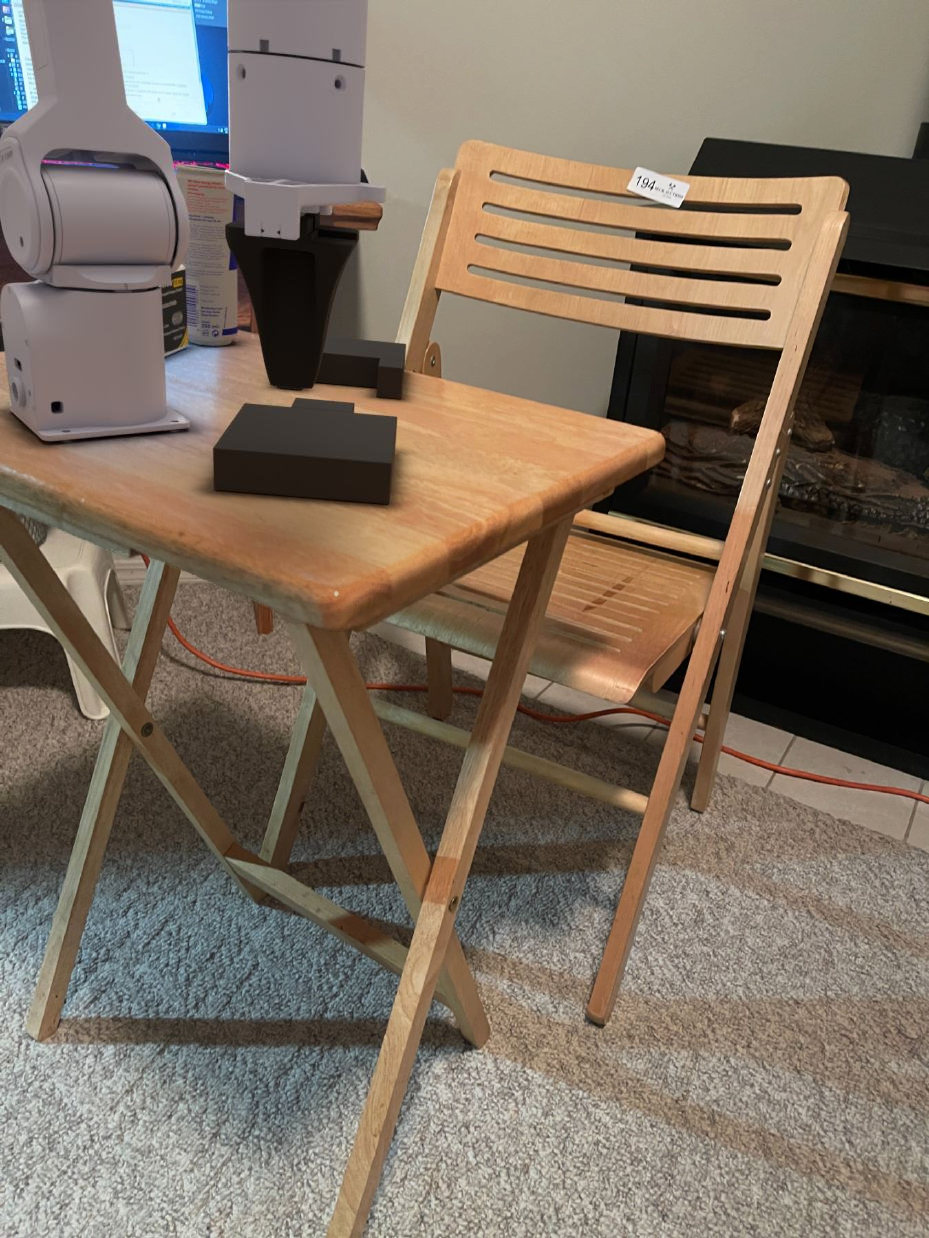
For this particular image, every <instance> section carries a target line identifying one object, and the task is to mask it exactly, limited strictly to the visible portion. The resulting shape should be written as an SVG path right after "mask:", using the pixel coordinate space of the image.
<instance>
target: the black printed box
mask: <svg viewBox="0 0 929 1238" xmlns="http://www.w3.org/2000/svg"><path fill="white" fill-rule="evenodd" d="M161 292H162V314H163V336H164V358H165V357H168V356H169V355H172V354H174V353H177V352H179V351H181V350H184V349H187V347H189V338H188V328H187V300H186V272H185V267H184V266H183V265H182V264H181V265H180V267H179V268H178V270H177V271H175V272H174V273H171V285H163V286H161Z"/></svg>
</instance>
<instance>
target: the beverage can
mask: <svg viewBox="0 0 929 1238" xmlns="http://www.w3.org/2000/svg"><path fill="white" fill-rule="evenodd" d="M175 168H176V169H177V170H176V172H175V174H176V178H177V181H178V185H179V188H180V190H181V192H182V194H183V196H184V199H185V202H186V206H187V210H188V215H189V224H190V237H189V245H188V250H187V253H186V255H185V258H184V259H183V261H182V263H181V264H182V265H183V266H184V267H185V272H186V300H187V328H188V342H189V343H192V344H195V345H201V346H209V347H210V346H211V347H219V346H222V347H223V346H227V345H231V343H232V340H234V339H236V338H237V337H238V334H239V313H238V311H239V308H238V307H239V306H238V305H239V303H238V301H239V300H238V264H237V262H236V260H235V258H234V256H233V254H232V253H231V251H230V249H229V247H228V244H227V241H226V237H225V225H226V224H228V223H230V222H238V221H237V219H238V218H237V217H238V215H237V195H236V194H234V193H232V192H229V191H228V190H226V188H225V171H226V170H230V168H227V167H225V166H219V165H210V164H203V163H199V164H196V165H194V164H193V165H192V164H175Z"/></svg>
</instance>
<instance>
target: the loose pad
mask: <svg viewBox="0 0 929 1238" xmlns="http://www.w3.org/2000/svg"><path fill="white" fill-rule="evenodd" d="M397 429H398V416H396V415H395V416H394V415H385V414H373V413H363V412H362V413H361V412H355V402H350V401H340V400H339V401H338V400H328V399H317V398H304V397H295V398H294V400H293V402H292V404H291V406H283V405H272V404H262V403H261V404H260V403H251V402H250V403H248V402H244V403H243V405H242V406H241V408H240V409H239V410H238V412H237V413H236V414H235V416H234V418H233V419H232V421H231V422H230V423H229V424H228V426H227V427H226V429H225V430H224V432H223V433H222V435H221V436H220V437H219V439H218V440H217V442H216V443H215V444H214V446H213V448H212V462H213V463H212V465H213V472H212V473H213V490H215V491H225V492H238V493H246V494H247V493H248V494H250V493H251V494H260V495H272V496H283V497H284V496H285V497H297V498H309V499H320V500H323V499H324V500H333V501H345V502H358V503H371V504H381V505H382V504H383V505H389V504H390V500H391V492H392V483H393V476H394V475H393V474H394V465H395V457H396V447H397V432H398V431H397Z"/></svg>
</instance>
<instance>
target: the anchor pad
mask: <svg viewBox="0 0 929 1238" xmlns="http://www.w3.org/2000/svg"><path fill="white" fill-rule="evenodd" d="M406 353H407V344H406V343H402V342H391V341H381V340H369V339H360V338H359V339H358V338H349V337H341V336H340V337H339V336H328V335H326V341H325V346H324V351H323V356H322V360H321V365H320V369H319V372H318V375H317V378H316V381H315V383H318V384H319V383H320V384H329V385H339V386H352V387H353V386H354V387H362V388H364V387H365V388H372V389H374V388H375V389H376V397H377V398H386V399H396V400H402V396H403V395H402V394H403V387H404V377H405V366H406ZM276 388H277V389H288V390H297V391H302V389H303V388H295V387H283V386H276Z"/></svg>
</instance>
